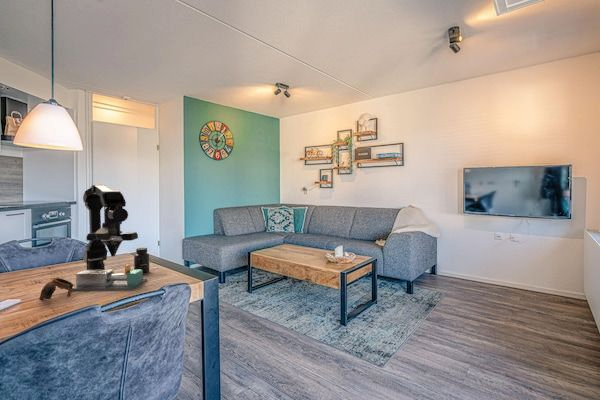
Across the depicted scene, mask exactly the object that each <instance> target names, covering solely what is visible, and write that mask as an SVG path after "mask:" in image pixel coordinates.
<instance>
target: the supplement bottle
mask: <svg viewBox="0 0 600 400" xmlns="http://www.w3.org/2000/svg"><path fill="white" fill-rule="evenodd" d="M135 250H136V251H135V252H136V254H134V255H133V270H138V269H142V270H143V274H144V275H145V274H148V273H149V272H150V254H149V253H148V247H138V248H136V249H135Z"/></svg>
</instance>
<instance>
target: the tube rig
mask: <svg viewBox="0 0 600 400" xmlns="http://www.w3.org/2000/svg"><path fill="white" fill-rule="evenodd" d="M107 274H115V271H114V269H105V270H87V269H84V270H82V271H80V272H77V273H76V274H75V285H74V286H73V287H72V289H73V291H72V292H90V291H91V292H93V291H94V292H95V291H97V292H99V291H101V292H102V291H103V292H104V291H106V292H107V291H116V292H117V291H134V289H135V290H136V289H137V288H139V287H141V286H142V285H143V284H145V283H147V282H148V279H147V278H144V277H143V276H144V275H143V270H142V269H138V270H134V269H133V270H130V272H129V273H127V281H107Z"/></svg>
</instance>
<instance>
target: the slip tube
mask: <svg viewBox="0 0 600 400" xmlns="http://www.w3.org/2000/svg"><path fill="white" fill-rule="evenodd" d="M129 272H131V264H129V263H128V264H125V265H124V273H114V274H107V281H127V273H129Z"/></svg>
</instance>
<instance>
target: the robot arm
mask: <svg viewBox="0 0 600 400" xmlns="http://www.w3.org/2000/svg"><path fill="white" fill-rule="evenodd" d="M82 201H83V203H84V206H85V208H86V209H87V210H88V215H89V216H88V217H89V233H88V234H86V241H89V242H88V243H87V244H86V246H85V251H84V254H83V262H84V263H85V264H86V270H106V269H105V262H104V261H107V259H108V252H109V254H110V256H111V257H115V256H116V254H117V252H118V250H119V247H120V245H121V244H122V242H124V241H128V242H129V241H134V240H137V239H139V234H138V233H137V232H135V231H128V232H124V233H123V231H122V230H121V225H122V224H123V222H126V220H127V219H128V216H129V212H128V211H127V209H125V208H124V207H126V205H127V204H126V203H127V202H126V199H125V197H124V195H123V193H122V192H121V190H114V189H113V190H111V189H110V188H108V187H107V186H106V184H96V183H95V184H91V186H90V187H89V188H88V189H86V190H85V191H84V193H83V196H82ZM102 209H103V212H104V213H103V219H104V220H103V221H104V222H102V223H101V221H102V220H101V217H102V216H101V212H102ZM107 249H108V250H107Z"/></svg>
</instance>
